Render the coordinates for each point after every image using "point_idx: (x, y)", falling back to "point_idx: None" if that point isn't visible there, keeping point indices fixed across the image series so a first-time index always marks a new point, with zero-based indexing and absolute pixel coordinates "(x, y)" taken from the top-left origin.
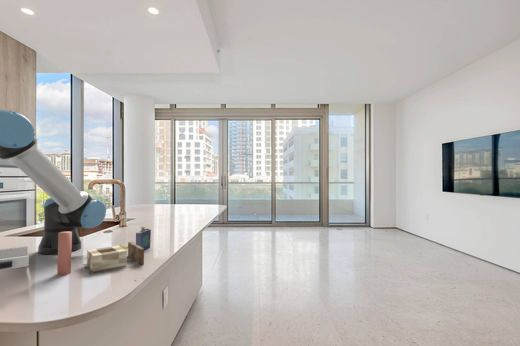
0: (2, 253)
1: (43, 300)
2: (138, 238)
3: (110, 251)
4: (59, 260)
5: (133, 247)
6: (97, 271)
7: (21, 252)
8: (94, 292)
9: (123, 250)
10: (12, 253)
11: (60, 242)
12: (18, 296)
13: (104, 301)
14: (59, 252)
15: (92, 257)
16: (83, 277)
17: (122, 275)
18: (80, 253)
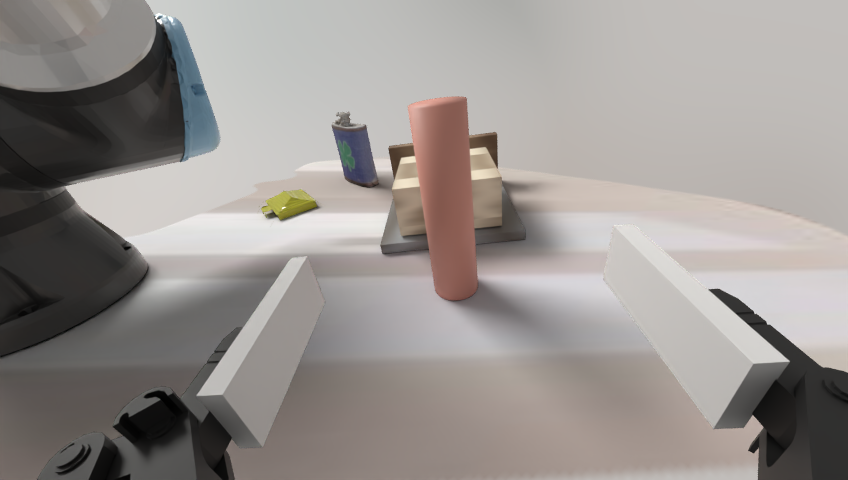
0: (253, 391)
1: None
2: (367, 141)
3: None
4: (465, 234)
5: None
6: None
7: (308, 304)
8: (676, 232)
9: (475, 150)
10: (289, 341)
11: (462, 152)
12: (663, 408)
13: (765, 219)
14: (461, 201)
15: (488, 185)
16: (504, 250)
17: (541, 200)
18: (204, 259)
